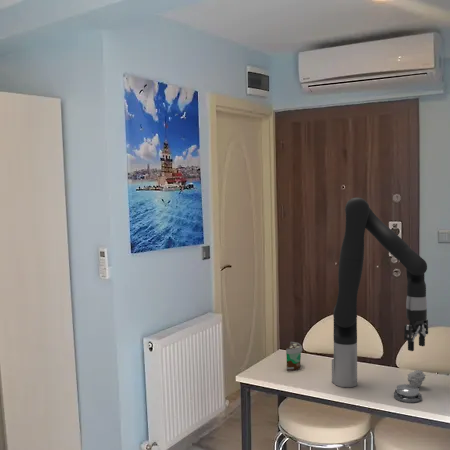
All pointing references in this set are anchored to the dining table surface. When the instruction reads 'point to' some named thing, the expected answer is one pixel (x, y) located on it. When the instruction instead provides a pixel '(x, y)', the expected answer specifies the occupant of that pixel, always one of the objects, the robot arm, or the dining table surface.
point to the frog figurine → (416, 378)
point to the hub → (407, 393)
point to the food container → (293, 356)
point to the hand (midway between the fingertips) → (416, 348)
